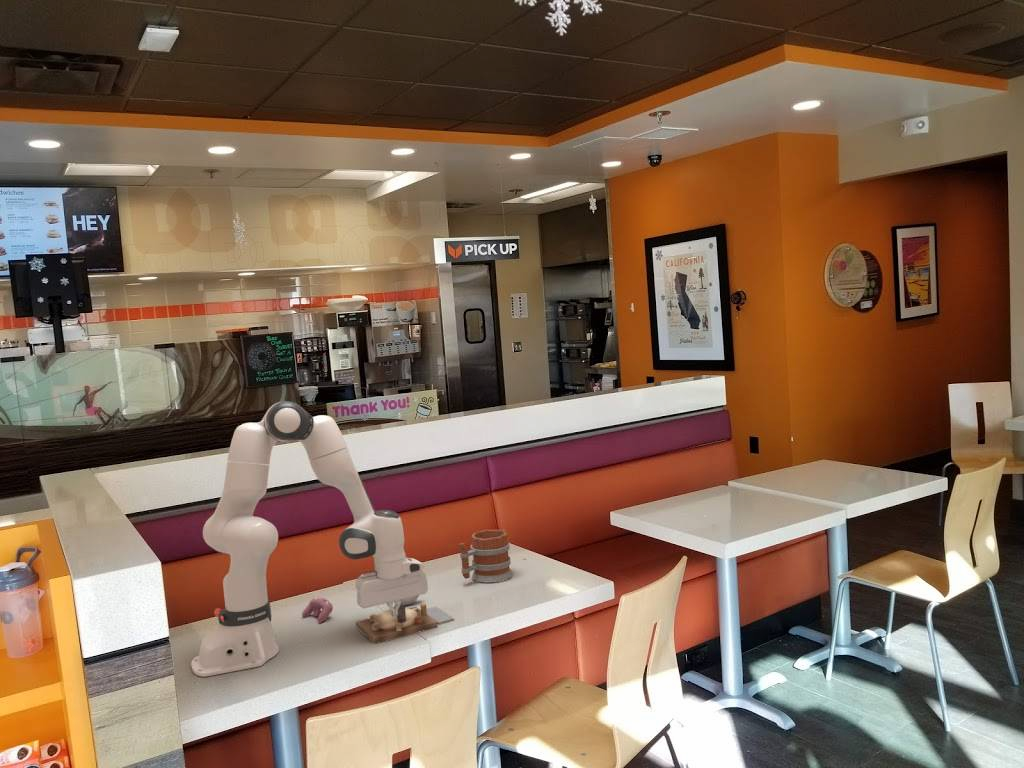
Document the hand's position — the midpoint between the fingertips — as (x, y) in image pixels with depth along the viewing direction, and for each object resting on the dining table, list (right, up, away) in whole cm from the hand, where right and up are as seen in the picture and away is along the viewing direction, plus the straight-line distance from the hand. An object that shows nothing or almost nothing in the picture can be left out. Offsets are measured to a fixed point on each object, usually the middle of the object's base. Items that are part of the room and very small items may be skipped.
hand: (394, 615), depth 228 cm
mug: (+25, 0, +44) cm, 50 cm away
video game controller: (-26, -6, +18) cm, 32 cm away
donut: (0, -4, +24) cm, 24 cm away
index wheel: (0, -3, +5) cm, 6 cm away
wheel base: (0, -5, +5) cm, 7 cm away
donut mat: (+11, -4, +12) cm, 16 cm away
